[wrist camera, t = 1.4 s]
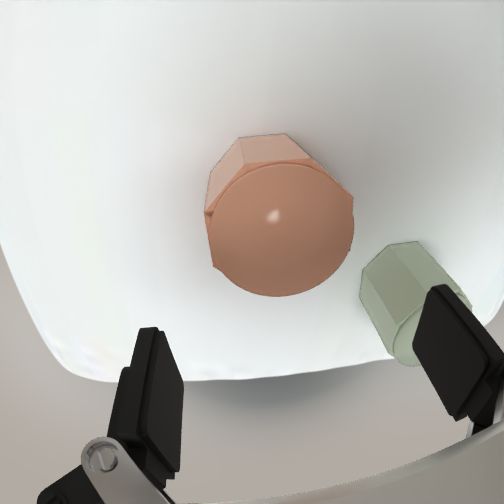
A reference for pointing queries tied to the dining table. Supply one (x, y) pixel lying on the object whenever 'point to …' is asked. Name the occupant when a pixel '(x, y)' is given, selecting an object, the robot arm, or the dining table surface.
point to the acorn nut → (401, 295)
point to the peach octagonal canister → (276, 217)
